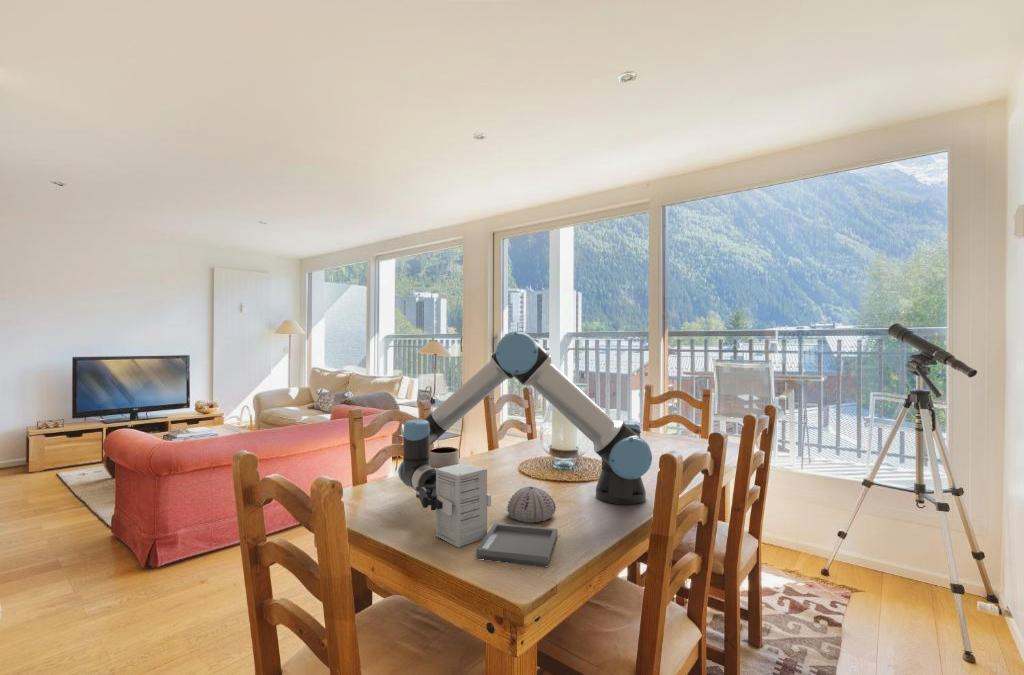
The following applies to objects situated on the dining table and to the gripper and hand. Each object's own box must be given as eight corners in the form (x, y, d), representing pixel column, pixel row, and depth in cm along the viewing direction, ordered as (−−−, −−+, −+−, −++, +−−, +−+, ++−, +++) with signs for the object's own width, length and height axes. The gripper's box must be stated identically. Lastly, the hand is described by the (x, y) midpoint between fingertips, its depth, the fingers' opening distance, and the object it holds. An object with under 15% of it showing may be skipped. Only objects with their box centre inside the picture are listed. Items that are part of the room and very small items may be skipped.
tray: (557, 537, 121) (557, 528, 121) (547, 567, 105) (548, 556, 105) (494, 531, 125) (494, 523, 125) (476, 559, 109) (476, 549, 109)
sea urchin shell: (565, 519, 134) (565, 490, 134) (523, 529, 126) (523, 498, 127) (537, 505, 145) (537, 478, 145) (497, 514, 138) (497, 485, 138)
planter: (421, 478, 173) (421, 450, 173) (442, 471, 182) (442, 445, 182) (444, 483, 166) (444, 454, 166) (465, 476, 175) (465, 449, 175)
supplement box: (488, 537, 121) (489, 468, 121) (458, 548, 115) (459, 475, 115) (464, 526, 128) (464, 461, 128) (434, 536, 121) (435, 467, 122)
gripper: (466, 489, 142) (509, 511, 124) (390, 503, 130) (426, 531, 111) (466, 463, 143) (509, 481, 124) (391, 475, 130) (427, 497, 111)
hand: (470, 505), depth 118 cm, fingers closed on supplement box, 10 cm apart
